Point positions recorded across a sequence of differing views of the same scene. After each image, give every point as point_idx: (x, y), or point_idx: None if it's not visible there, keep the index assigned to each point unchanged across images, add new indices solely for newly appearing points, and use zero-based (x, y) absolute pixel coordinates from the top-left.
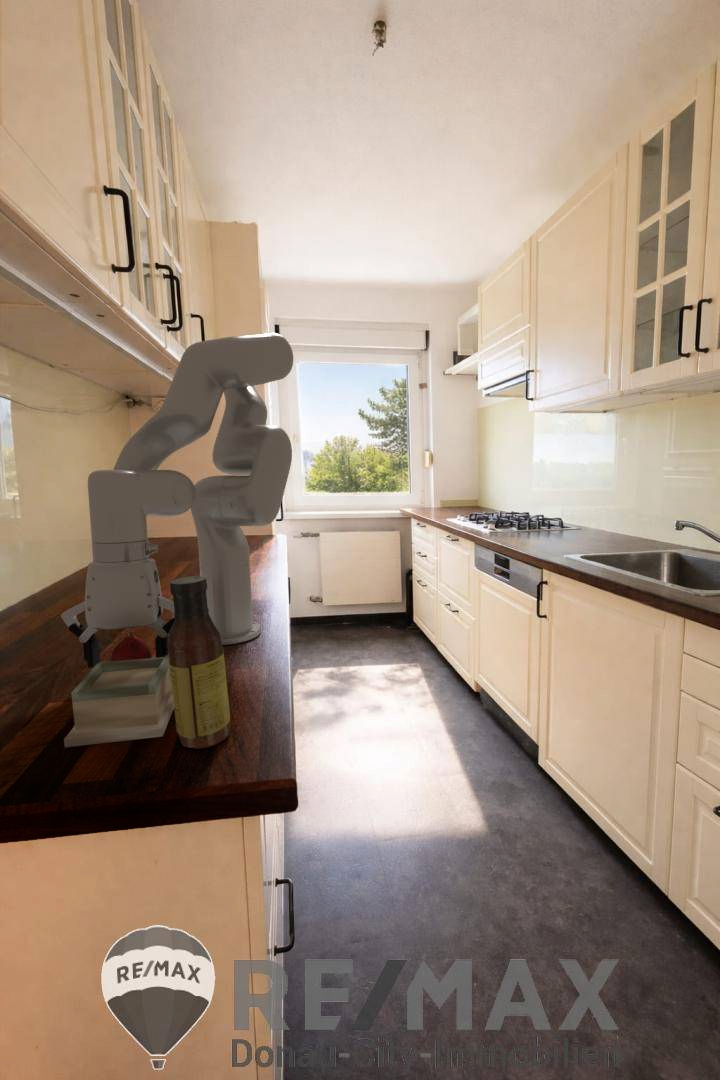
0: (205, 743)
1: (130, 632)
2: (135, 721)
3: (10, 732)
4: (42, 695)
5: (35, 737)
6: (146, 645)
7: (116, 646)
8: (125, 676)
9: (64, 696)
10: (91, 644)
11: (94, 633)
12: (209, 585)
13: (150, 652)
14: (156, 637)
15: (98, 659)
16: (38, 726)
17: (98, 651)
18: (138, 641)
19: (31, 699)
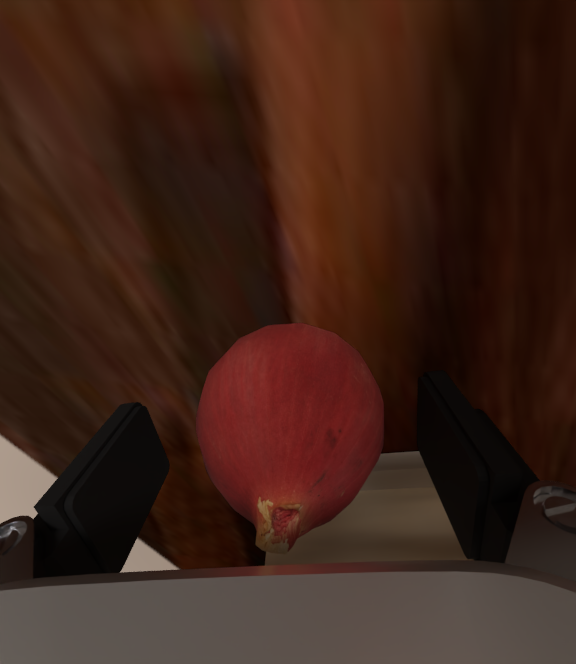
0: None
1: (286, 549)
2: None
3: (150, 545)
4: (65, 418)
5: (213, 561)
6: (374, 453)
7: (223, 496)
8: None
9: None
10: (119, 571)
11: (42, 557)
12: None
13: (383, 419)
14: (473, 539)
15: (145, 425)
16: (188, 535)
17: (124, 446)
18: (343, 505)
19: (57, 436)
